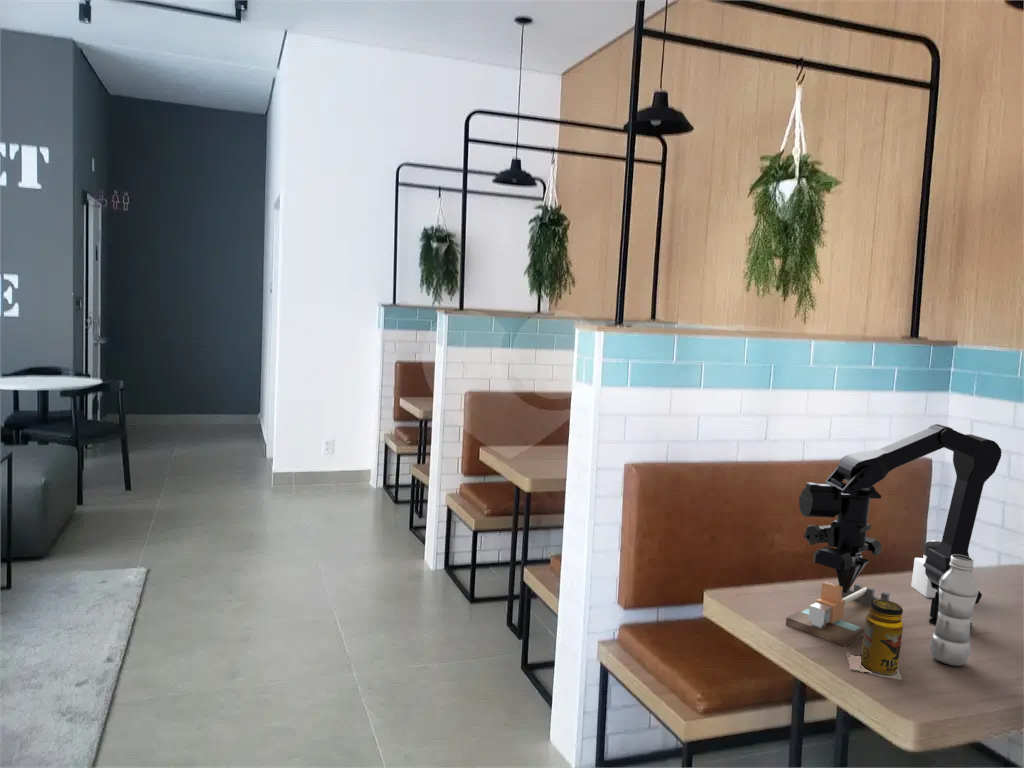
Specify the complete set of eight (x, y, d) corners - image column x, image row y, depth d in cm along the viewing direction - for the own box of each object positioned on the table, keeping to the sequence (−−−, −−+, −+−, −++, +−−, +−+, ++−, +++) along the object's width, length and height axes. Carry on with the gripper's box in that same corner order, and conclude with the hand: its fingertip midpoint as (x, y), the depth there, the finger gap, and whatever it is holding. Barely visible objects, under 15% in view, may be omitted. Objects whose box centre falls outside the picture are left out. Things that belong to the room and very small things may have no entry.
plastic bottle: (958, 655, 150) (972, 553, 147) (975, 672, 143) (990, 565, 141) (922, 651, 150) (935, 550, 148) (937, 668, 144) (952, 562, 141)
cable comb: (887, 609, 167) (889, 593, 166) (885, 610, 166) (887, 594, 165) (840, 594, 174) (842, 579, 173) (838, 595, 173) (840, 580, 172)
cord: (868, 593, 170) (869, 588, 170) (826, 615, 156) (826, 609, 156) (862, 592, 171) (863, 586, 170) (820, 613, 157) (820, 607, 157)
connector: (829, 626, 156) (831, 607, 155) (822, 630, 154) (824, 610, 153) (814, 621, 158) (817, 602, 157) (807, 625, 156) (810, 605, 155)
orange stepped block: (843, 617, 159) (846, 584, 158) (831, 623, 155) (835, 590, 155) (825, 611, 161) (829, 579, 161) (814, 617, 158) (818, 584, 157)
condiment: (902, 680, 138) (910, 614, 137) (849, 670, 141) (857, 606, 139) (895, 662, 145) (903, 600, 144) (845, 653, 147) (853, 591, 146)
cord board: (892, 617, 166) (893, 610, 166) (844, 646, 150) (845, 638, 150) (836, 599, 175) (837, 592, 175) (785, 624, 159) (786, 616, 159)
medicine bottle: (957, 600, 179) (964, 548, 178) (925, 598, 179) (932, 546, 178) (940, 588, 186) (947, 539, 185) (910, 586, 186) (916, 536, 185)
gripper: (833, 502, 172) (826, 571, 174) (792, 515, 159) (784, 589, 161) (886, 514, 164) (877, 587, 166) (847, 529, 151) (838, 607, 153)
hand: (843, 592), depth 162 cm, fingers closed
